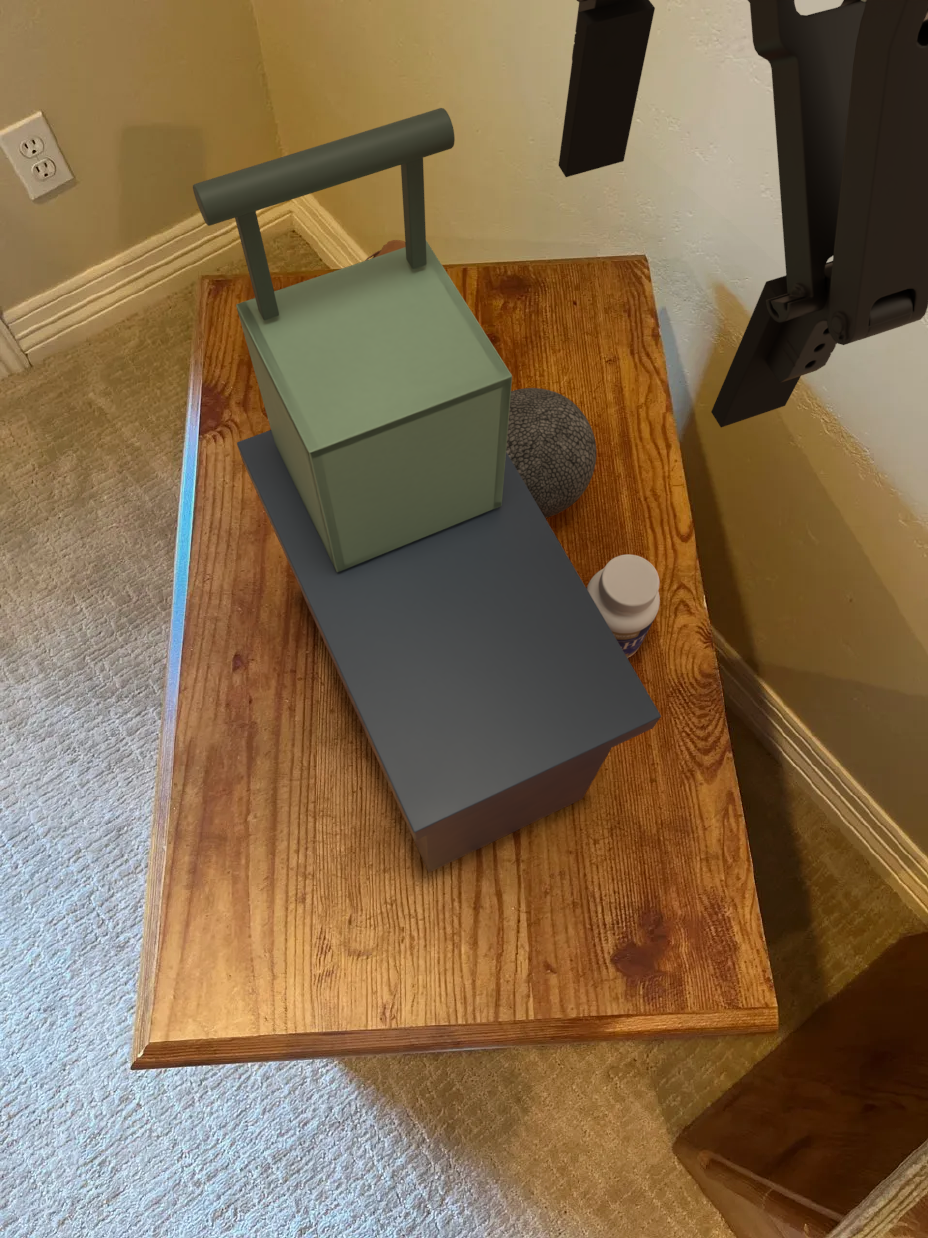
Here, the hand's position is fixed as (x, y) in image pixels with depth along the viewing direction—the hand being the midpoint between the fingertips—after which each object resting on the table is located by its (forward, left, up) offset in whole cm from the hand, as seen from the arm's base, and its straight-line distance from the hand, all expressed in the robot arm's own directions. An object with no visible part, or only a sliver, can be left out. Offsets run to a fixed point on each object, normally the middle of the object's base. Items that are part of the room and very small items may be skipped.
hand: (664, 278), depth 38 cm
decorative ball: (+13, -4, -38) cm, 40 cm away
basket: (+3, +10, -8) cm, 13 cm away
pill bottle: (-1, -4, -38) cm, 38 cm away
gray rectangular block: (0, +10, -38) cm, 39 cm away
